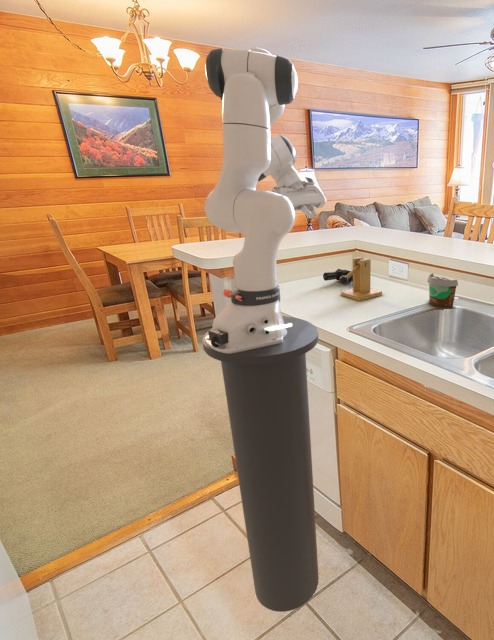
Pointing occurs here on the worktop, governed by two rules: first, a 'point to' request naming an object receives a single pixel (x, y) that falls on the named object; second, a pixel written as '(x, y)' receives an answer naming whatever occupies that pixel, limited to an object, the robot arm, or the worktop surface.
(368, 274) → the lever stand
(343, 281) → the latch lever
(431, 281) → the food container
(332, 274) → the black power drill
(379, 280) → the worktop surface
